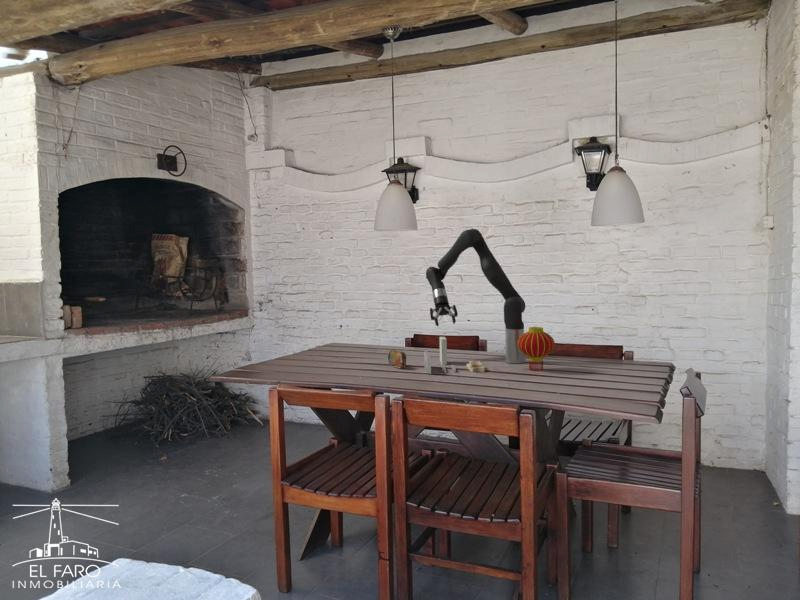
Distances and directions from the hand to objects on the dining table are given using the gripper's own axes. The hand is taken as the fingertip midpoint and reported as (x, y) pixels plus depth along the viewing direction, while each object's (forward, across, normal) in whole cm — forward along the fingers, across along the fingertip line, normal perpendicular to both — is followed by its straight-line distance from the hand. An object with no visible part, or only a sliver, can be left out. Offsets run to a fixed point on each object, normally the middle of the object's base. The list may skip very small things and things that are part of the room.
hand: (446, 324), depth 318 cm
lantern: (+39, +36, -13) cm, 55 cm away
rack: (+31, -9, -12) cm, 35 cm away
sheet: (+20, -5, +4) cm, 21 cm away
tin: (+22, -29, -3) cm, 37 cm away
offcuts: (+34, +8, -11) cm, 36 cm away
